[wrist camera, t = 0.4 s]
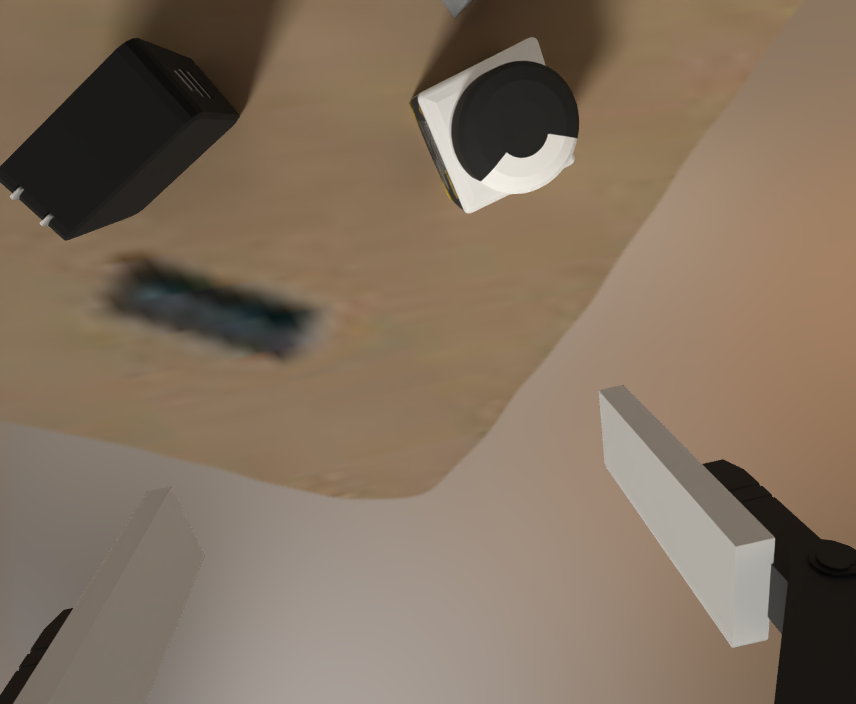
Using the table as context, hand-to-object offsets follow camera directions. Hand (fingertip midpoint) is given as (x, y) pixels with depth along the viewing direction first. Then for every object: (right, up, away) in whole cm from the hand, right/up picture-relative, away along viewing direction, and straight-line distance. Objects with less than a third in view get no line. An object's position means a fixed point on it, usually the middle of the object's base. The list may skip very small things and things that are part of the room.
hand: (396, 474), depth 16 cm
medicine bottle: (+4, +19, +20) cm, 28 cm away
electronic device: (-16, +18, +19) cm, 30 cm away
